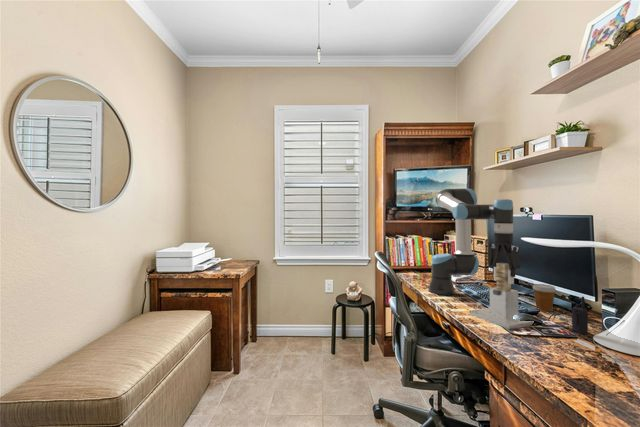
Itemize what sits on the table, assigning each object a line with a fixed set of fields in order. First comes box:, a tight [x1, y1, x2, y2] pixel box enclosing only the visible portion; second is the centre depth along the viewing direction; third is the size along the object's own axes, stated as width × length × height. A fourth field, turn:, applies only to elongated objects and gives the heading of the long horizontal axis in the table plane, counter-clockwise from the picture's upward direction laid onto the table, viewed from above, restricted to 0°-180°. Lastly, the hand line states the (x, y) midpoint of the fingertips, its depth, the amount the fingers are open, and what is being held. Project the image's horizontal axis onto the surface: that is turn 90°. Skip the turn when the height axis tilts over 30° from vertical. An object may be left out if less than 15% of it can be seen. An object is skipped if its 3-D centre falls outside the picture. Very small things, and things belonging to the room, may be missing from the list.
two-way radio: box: [571, 296, 589, 335], centre depth 119 cm, size 6×4×15 cm
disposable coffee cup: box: [532, 283, 557, 312], centre depth 147 cm, size 10×10×12 cm
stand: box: [469, 286, 541, 330], centre depth 135 cm, size 20×20×14 cm
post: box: [495, 262, 512, 291], centre depth 135 cm, size 4×4×24 cm
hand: (503, 281), depth 135 cm, fingers open, 6 cm apart
